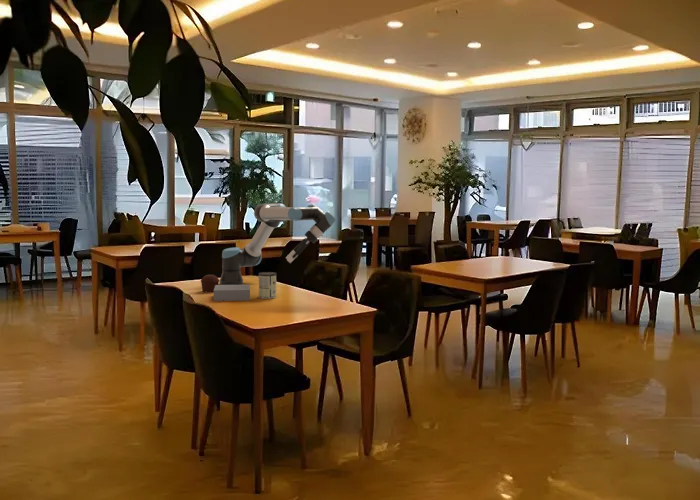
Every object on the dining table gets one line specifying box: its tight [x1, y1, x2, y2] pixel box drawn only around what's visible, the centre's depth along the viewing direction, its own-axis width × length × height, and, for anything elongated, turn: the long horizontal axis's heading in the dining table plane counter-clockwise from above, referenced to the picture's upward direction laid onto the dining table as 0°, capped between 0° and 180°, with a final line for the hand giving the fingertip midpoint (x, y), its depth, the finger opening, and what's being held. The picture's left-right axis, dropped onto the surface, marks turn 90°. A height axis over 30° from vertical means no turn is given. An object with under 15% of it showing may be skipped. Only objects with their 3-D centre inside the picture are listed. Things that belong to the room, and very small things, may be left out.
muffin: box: [200, 274, 220, 293], centre depth 404 cm, size 12×11×10 cm
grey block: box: [213, 284, 251, 302], centre depth 381 cm, size 20×20×6 cm
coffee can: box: [258, 271, 277, 300], centre depth 384 cm, size 10×10×14 cm
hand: (287, 260), depth 384 cm, fingers open, 13 cm apart
